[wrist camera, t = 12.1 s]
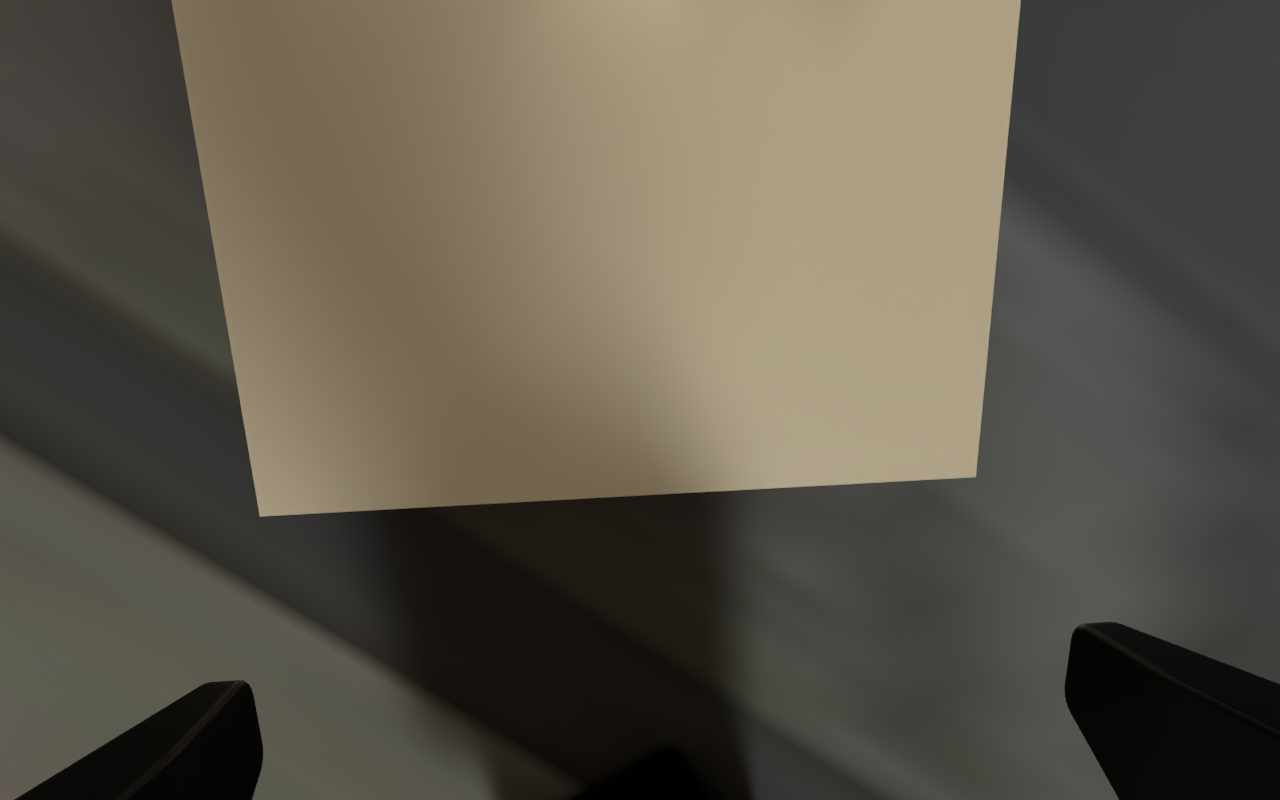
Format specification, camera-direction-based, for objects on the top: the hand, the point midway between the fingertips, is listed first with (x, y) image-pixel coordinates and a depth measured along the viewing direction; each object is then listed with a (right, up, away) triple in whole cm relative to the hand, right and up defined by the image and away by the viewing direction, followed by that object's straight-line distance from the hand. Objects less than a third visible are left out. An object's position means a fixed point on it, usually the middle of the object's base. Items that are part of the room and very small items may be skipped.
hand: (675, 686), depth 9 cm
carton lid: (-1, +7, +6) cm, 10 cm away
